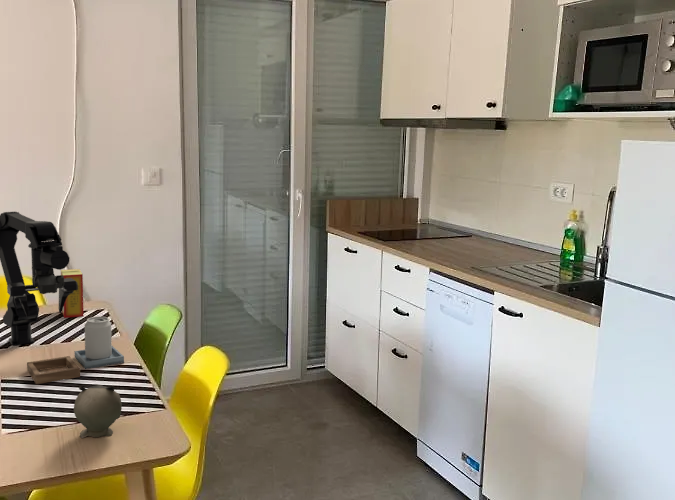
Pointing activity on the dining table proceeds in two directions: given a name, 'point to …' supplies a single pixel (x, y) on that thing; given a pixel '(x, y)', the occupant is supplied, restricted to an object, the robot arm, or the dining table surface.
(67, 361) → the holder collar
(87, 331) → the can
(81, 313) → the baking soda box
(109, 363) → the tray
